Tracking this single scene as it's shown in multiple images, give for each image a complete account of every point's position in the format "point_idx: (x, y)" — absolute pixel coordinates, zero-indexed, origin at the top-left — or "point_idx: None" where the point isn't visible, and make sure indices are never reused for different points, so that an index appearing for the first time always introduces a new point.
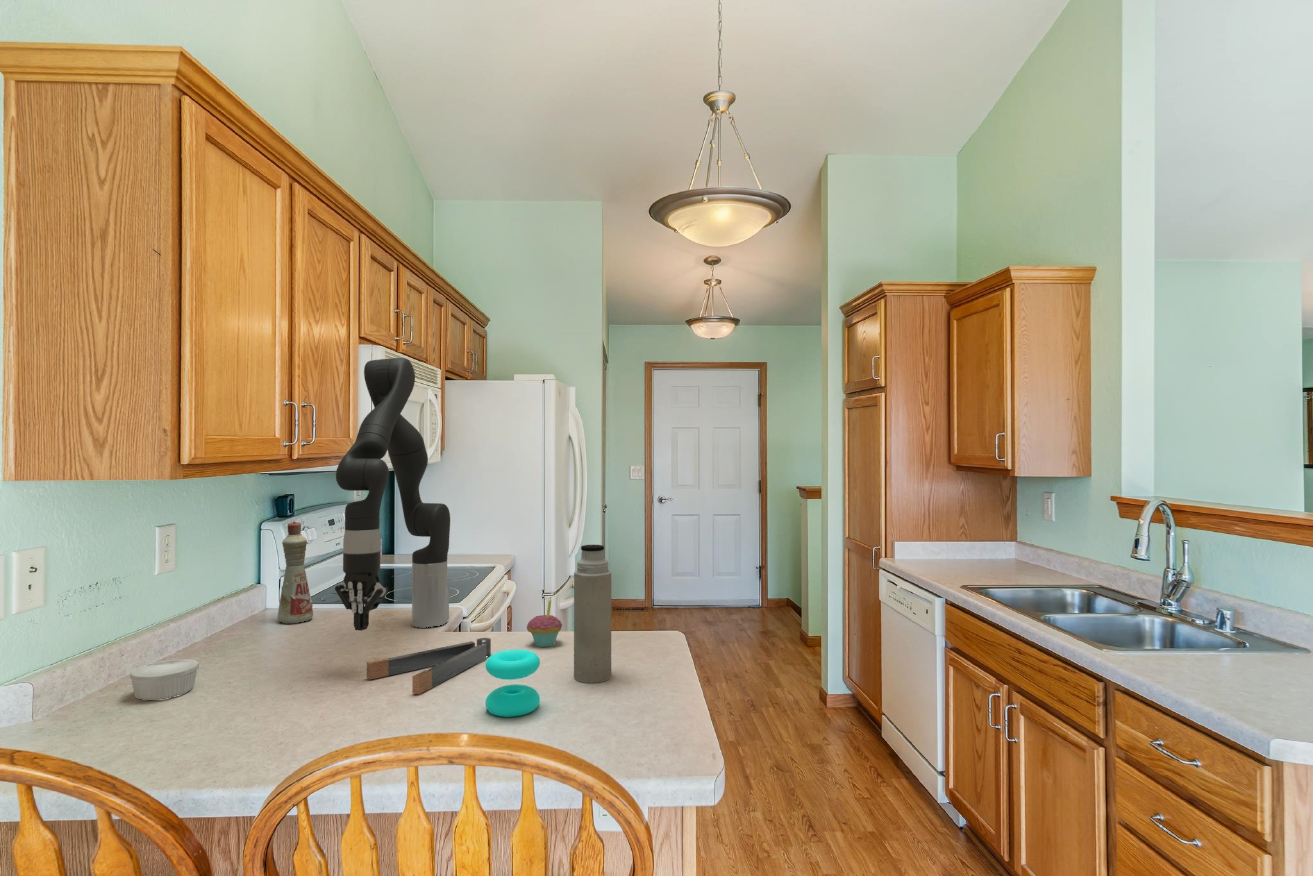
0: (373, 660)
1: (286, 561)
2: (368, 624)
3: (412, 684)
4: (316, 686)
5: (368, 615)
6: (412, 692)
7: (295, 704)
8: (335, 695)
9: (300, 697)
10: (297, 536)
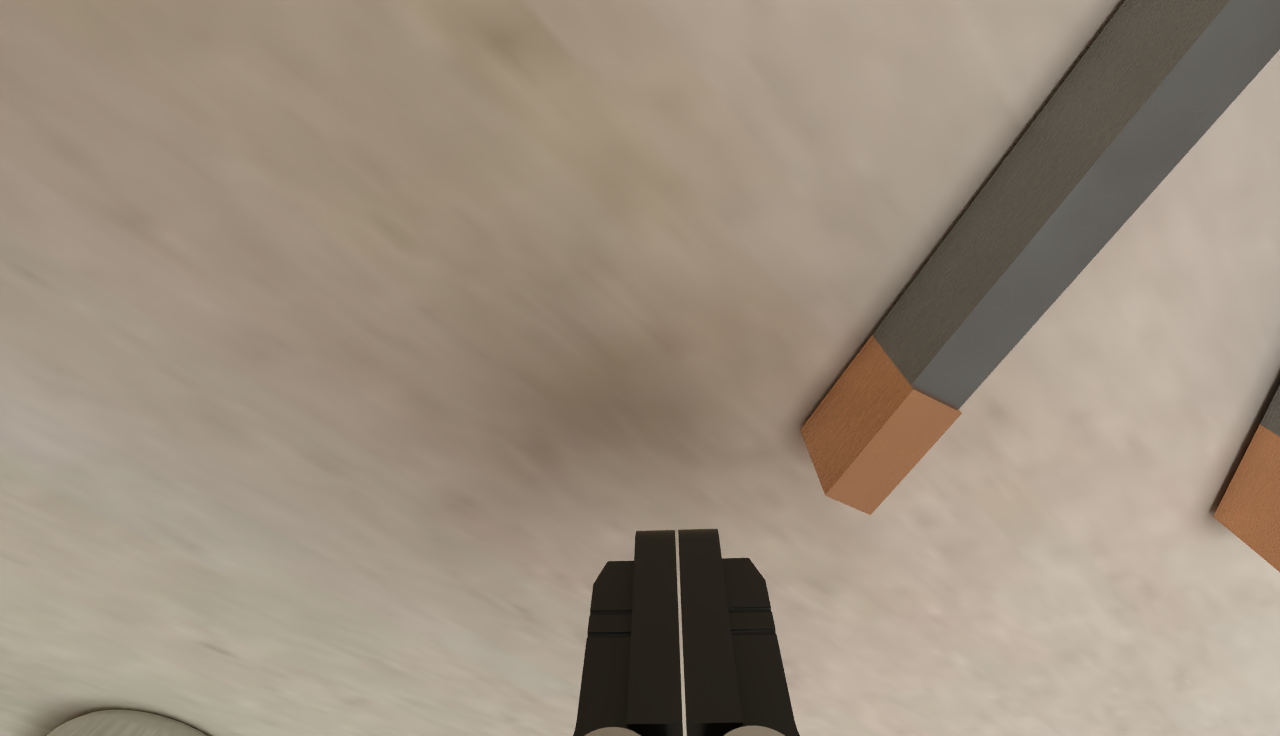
0: (855, 460)
1: None
2: (762, 581)
3: (1257, 552)
4: None
5: (786, 696)
6: (1218, 519)
7: None
8: (808, 617)
9: None
10: None
